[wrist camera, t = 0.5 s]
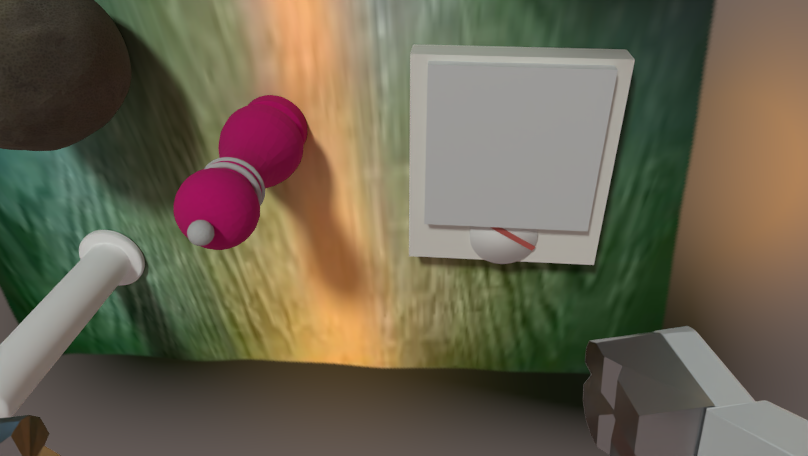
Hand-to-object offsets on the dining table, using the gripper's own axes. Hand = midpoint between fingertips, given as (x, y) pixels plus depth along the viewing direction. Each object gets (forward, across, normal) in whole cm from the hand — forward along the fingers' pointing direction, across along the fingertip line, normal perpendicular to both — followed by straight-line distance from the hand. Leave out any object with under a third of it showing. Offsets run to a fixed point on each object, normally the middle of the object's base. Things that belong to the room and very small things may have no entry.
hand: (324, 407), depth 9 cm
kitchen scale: (+46, -14, +15) cm, 50 cm away
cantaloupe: (+52, +23, +2) cm, 57 cm away
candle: (+54, +28, +25) cm, 66 cm away
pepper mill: (+50, +8, +11) cm, 51 cm away
